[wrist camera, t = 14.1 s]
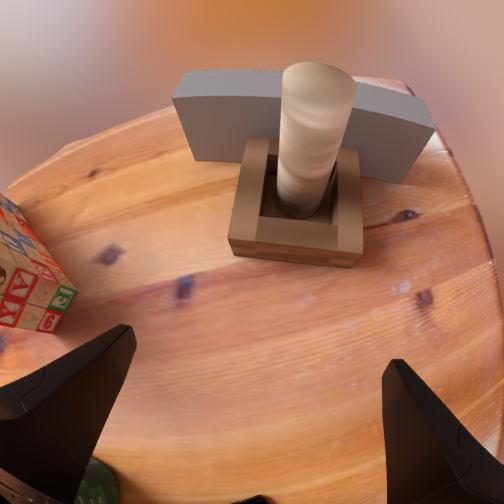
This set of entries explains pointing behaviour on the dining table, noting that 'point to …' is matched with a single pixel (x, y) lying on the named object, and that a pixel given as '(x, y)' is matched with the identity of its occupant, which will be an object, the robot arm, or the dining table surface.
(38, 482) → the robot arm
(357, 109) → the board
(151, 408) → the dining table surface
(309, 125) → the dowel
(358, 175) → the socket block
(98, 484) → the coffee jar
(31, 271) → the stack of blocks
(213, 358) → the dining table surface
